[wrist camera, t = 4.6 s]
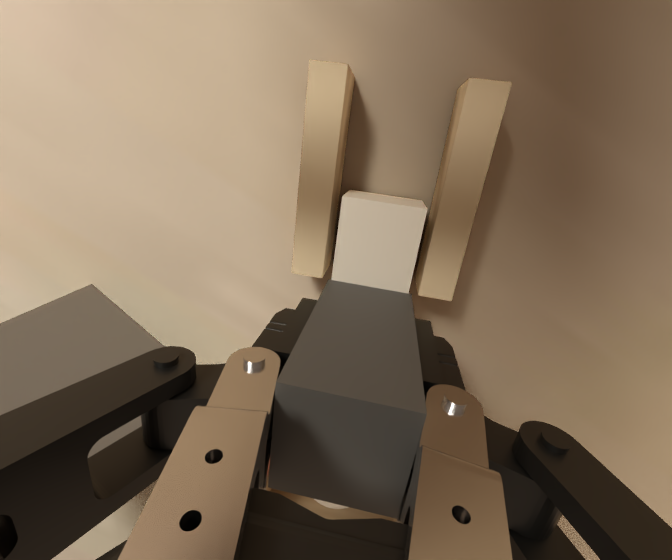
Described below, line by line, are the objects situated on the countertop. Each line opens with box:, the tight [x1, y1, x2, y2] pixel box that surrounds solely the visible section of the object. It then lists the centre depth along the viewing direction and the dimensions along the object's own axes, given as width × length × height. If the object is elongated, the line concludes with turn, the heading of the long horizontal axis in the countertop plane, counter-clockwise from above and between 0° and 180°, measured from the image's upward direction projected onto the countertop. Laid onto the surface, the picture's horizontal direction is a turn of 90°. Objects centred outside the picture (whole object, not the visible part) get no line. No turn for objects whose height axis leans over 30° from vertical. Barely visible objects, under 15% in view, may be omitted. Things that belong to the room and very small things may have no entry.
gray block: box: [268, 190, 427, 519], centre depth 11 cm, size 10×4×8 cm, turn 173°
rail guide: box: [291, 60, 512, 301], centre depth 12 cm, size 7×6×2 cm
